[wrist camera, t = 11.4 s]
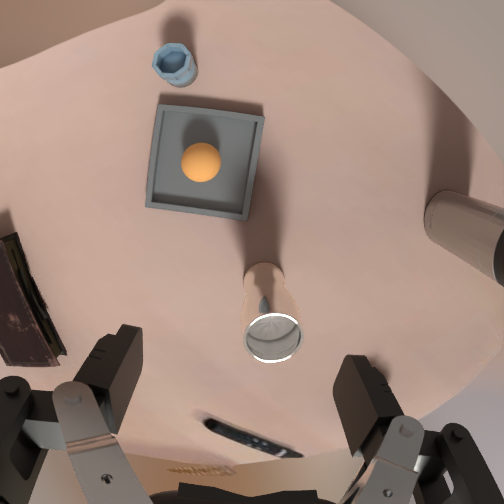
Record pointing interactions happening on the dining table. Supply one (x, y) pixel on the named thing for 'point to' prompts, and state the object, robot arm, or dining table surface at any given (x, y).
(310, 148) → the dining table surface
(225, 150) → the tray
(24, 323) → the diary
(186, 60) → the cup
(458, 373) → the dining table surface
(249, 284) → the beer glass
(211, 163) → the ball
